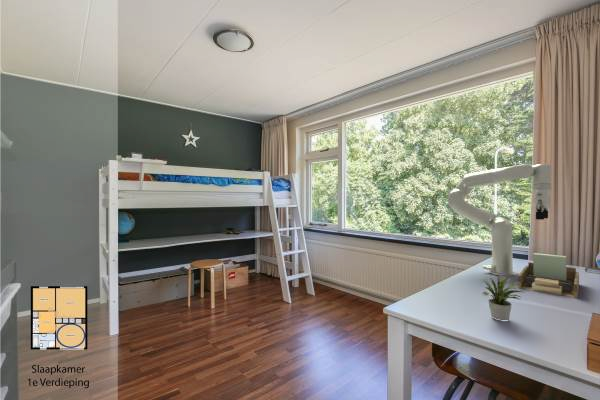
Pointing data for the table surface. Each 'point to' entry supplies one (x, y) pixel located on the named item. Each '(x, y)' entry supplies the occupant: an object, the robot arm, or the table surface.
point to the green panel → (549, 266)
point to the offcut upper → (547, 282)
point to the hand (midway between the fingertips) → (542, 218)
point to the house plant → (500, 299)
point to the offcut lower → (547, 289)
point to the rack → (568, 285)
